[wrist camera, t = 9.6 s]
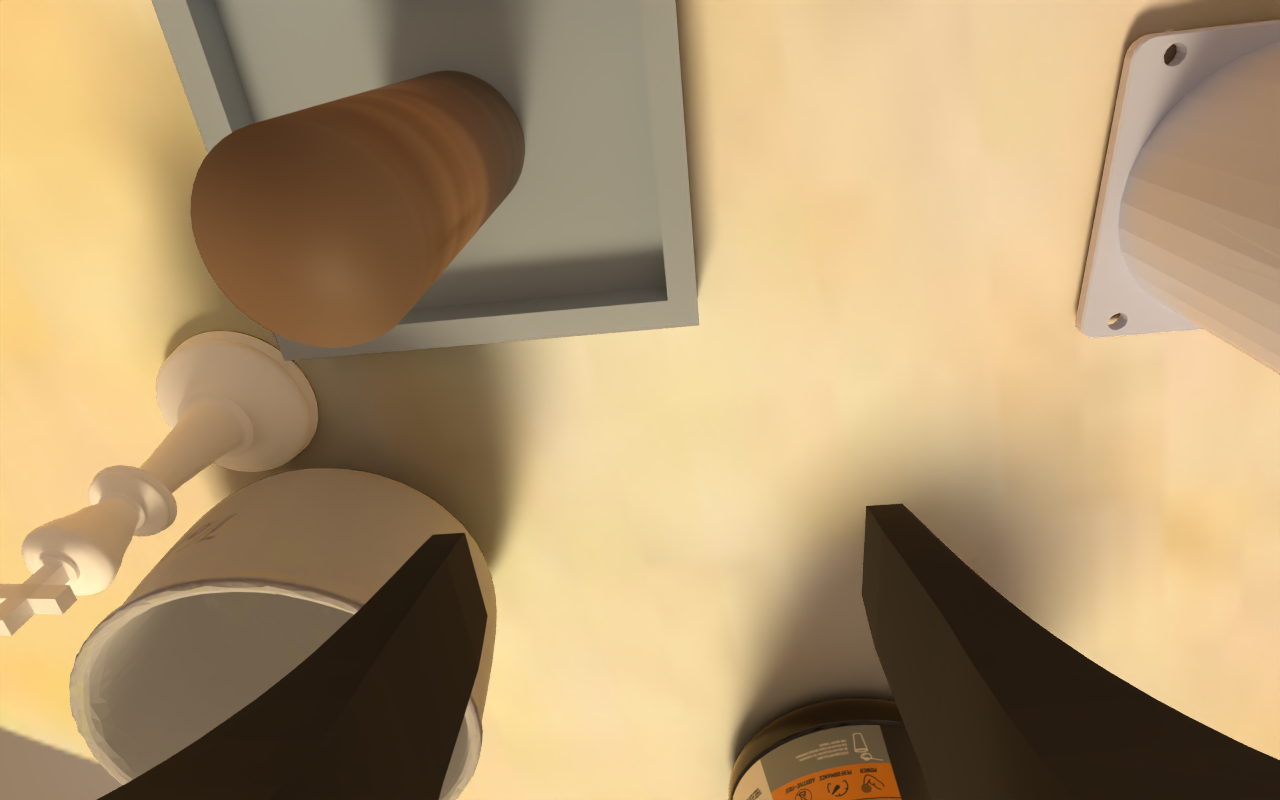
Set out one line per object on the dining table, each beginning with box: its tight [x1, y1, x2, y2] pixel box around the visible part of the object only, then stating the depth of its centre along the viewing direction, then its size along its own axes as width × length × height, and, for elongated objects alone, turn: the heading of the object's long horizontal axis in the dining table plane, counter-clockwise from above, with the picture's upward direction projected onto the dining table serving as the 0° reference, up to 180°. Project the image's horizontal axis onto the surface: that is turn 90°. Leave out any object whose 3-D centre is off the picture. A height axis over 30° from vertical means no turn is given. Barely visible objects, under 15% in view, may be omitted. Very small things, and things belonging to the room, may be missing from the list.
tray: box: [152, 0, 699, 361], centre depth 19 cm, size 12×10×2 cm
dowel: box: [191, 71, 525, 348], centre depth 15 cm, size 4×4×9 cm
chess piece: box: [0, 331, 318, 636], centre depth 20 cm, size 5×5×10 cm
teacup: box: [69, 468, 497, 800], centre depth 24 cm, size 14×11×8 cm
